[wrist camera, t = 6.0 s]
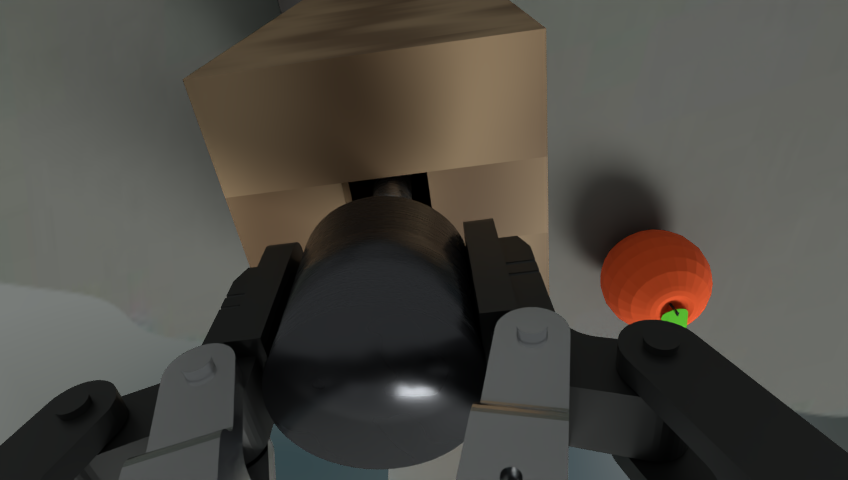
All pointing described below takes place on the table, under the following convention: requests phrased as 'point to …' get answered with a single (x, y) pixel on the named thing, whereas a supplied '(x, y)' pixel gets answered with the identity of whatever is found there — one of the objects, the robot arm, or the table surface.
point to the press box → (380, 116)
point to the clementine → (656, 278)
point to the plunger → (378, 336)
